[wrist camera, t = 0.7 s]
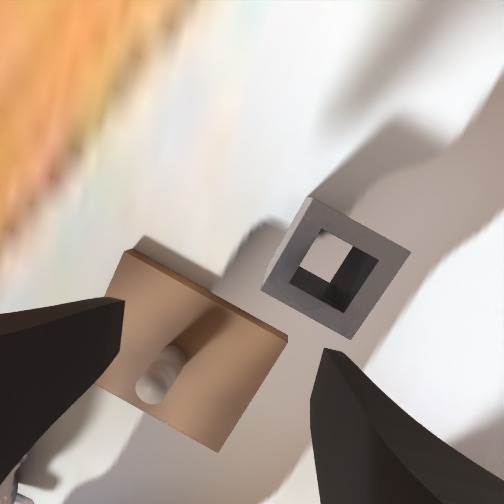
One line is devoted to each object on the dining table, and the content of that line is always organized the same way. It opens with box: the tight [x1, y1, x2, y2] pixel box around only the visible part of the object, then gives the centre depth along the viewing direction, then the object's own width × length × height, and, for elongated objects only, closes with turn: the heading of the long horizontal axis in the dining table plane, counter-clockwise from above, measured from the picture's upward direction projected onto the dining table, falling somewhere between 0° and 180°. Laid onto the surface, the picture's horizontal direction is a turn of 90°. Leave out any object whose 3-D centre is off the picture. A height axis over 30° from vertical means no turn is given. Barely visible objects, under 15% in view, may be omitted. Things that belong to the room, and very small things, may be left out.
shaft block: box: [94, 249, 288, 453], centre depth 19 cm, size 12×10×4 cm
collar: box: [261, 197, 411, 340], centre depth 17 cm, size 5×5×5 cm
